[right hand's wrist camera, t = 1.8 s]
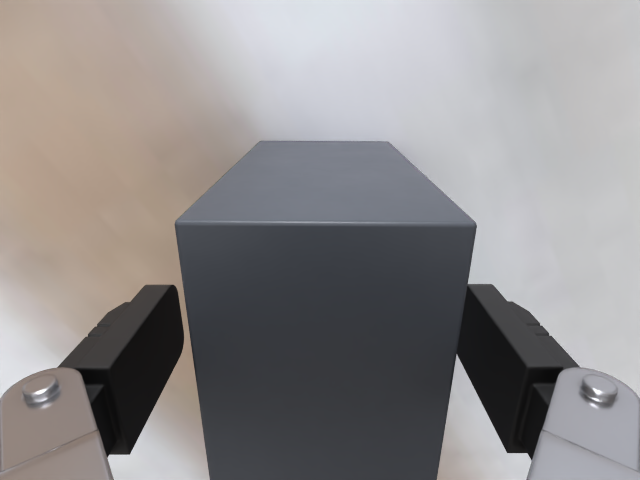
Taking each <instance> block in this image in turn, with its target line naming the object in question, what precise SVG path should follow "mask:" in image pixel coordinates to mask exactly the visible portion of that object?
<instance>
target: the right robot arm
mask: <svg viewBox="0 0 640 480" xmlns="http://www.w3.org/2000/svg"><path fill="white" fill-rule="evenodd" d="M183 344H184V331H183V324H182V317H181V311H180V304H179V297H178V291H177V288H176V287H175V286H174V285H145V286H144V287H143V288H142V289H141V290H140V291H139V293H138V294H137V295H136V296H135V297H134V298H133V300H132V301H131V302H125V303H123V304H122V305H120V306H118V307H117V308H115V309H113V310H112V311H110V312H108V313H107V314H106V315H105V317H104V318H103V319H102V320H101V321H100V322H99V323H98V324H97V327H94V328H93V330H92V331H91V332H90V333H89V334H88V337H85V338H84V339H83V340H82V341H81V342H80V344H79V345H78V346H77V347H76V348H75V349H74V350H73V351H72V352H71V353H70V354H69V355H68V357H67V358H66V359H65V360H64V361H63V362H62V363H61V364H60V365H59V366H58V367H57V368H52V369H47V370H44V371H40V372H37V373H35V374H32V375H30V376H28V377H26V378H24V379H22V380H20V381H19V382H17V383H16V384H14V385H13V386H12V387H10V388H9V389H8V390H7V391H6V392H5V393H4V394H3V395H2V397H1V398H0V480H114V479H113V476H112V473H111V469H110V466H109V463H108V459H107V457H108V456H109V454H130V453H131V451H132V449H133V447H134V445H135V443H136V441H137V439H138V437H139V435H140V433H141V431H142V429H143V427H144V426H145V424H146V422H147V420H148V418H149V416H150V414H151V412H152V410H153V408H154V406H155V404H156V402H157V400H158V398H159V396H160V394H161V392H162V390H163V389H164V387H165V385H166V383H167V381H168V379H169V377H170V375H171V373H172V371H173V369H174V367H175V365H176V363H177V361H178V359H179V357H180V355H181V353H182V349H183ZM457 355H458V357H459V359H460V361H461V363H462V365H463V367H464V369H465V371H466V373H467V375H468V377H469V378H470V380H471V382H472V384H473V386H474V388H475V390H476V392H477V394H478V396H479V398H480V400H481V402H482V404H483V406H484V408H485V410H486V412H487V414H488V416H489V418H490V420H491V422H492V424H493V426H494V428H495V430H496V432H497V434H498V436H499V438H500V440H501V442H502V444H503V446H504V447H505V449H506V451H507V453H528V455H529V457H530V458H531V460H532V463H531V466H530V469H529V473H528V476H527V479H526V480H640V398H639V397H638V395H637V394H636V393H635V392H634V391H633V390H632V389H631V388H630V387H628V386H627V385H626V384H624V383H623V382H621V381H620V380H618V379H616V378H614V377H612V376H610V375H608V374H605V373H603V372H600V371H596V370H593V369H588V368H580V367H579V366H578V364H577V363H576V362H575V361H574V360H573V359H572V358H571V357H570V356H569V355H568V354H567V352H566V351H565V350H564V349H563V348H562V347H561V346H560V345H559V344H558V343H557V342H556V340H555V339H554V338H553V337H552V336H549V333H548V332H547V331H546V330H545V328H544V327H543V326H540V323H539V322H538V321H537V320H536V319H535V318H534V316H533V315H532V314H531V313H530V312H529V311H527V310H525V309H524V308H522V307H520V306H519V305H517V304H515V303H514V302H507V301H506V299H505V298H504V297H503V296H502V295H501V294H500V292H499V291H498V290H497V289H496V288H495V287H494V286H493V285H492V284H467V291H466V297H465V303H464V309H463V316H462V322H461V328H460V335H459V341H458V347H457Z"/></svg>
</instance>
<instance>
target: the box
mask: <svg viewBox="0 0 640 480" xmlns="http://www.w3.org/2000/svg"><path fill="white" fill-rule="evenodd" d="M476 227H477V225H476V222H475V221H473V220H472V219H471V218H470V217H469V216H468V215H467V214H466V213H465V212H464V211H463V210H462V209H460V208H459V207H458V206H457V205H456V204H455V203H454V202H453V201H452V200H451V199H450V198H449V197H448V196H446V195H445V194H444V193H443V192H442V191H441V190H440V189H439V188H438V187H437V186H436V185H435V184H433V183H432V182H431V181H430V180H429V179H428V178H427V177H426V176H425V175H424V174H423V173H422V172H420V171H419V170H418V169H417V168H416V167H415V166H414V165H413V164H412V163H411V162H410V161H409V160H407V159H406V158H405V157H404V156H403V155H402V154H401V153H400V152H399V151H398V150H397V149H396V148H394V147H393V146H392V145H391V144H390V143H389V142H354V141H260V142H259V143H258V144H257V145H256V146H254V147H253V148H252V149H251V150H250V151H249V152H248V153H247V154H246V155H245V156H244V157H243V158H242V159H241V160H240V161H239V162H238V163H236V164H235V165H234V166H233V167H232V168H231V169H230V170H229V171H228V172H227V173H226V174H225V175H224V176H223V177H222V178H221V179H219V180H218V181H217V182H216V183H215V184H214V185H213V186H212V187H211V188H210V189H209V190H208V191H207V192H206V193H205V194H204V195H202V196H201V197H200V198H199V199H198V200H197V201H196V202H195V203H194V204H193V205H192V206H191V207H190V208H189V209H188V210H187V211H185V212H184V213H183V214H182V215H181V216H180V217H179V218H178V219H177V220H176V221H175V230H176V237H177V244H178V252H179V259H180V266H181V273H182V281H183V288H184V295H185V302H186V310H187V317H188V324H189V331H190V338H191V346H192V353H193V360H194V367H195V375H196V382H197V389H198V396H199V404H200V411H201V418H202V425H203V432H204V440H205V447H206V454H207V461H208V469H209V476H210V480H437V474H438V467H439V461H440V455H441V448H442V442H443V436H444V429H445V423H446V417H447V410H448V404H449V398H450V392H451V385H452V379H453V373H454V366H455V360H456V354H457V347H458V341H459V335H460V328H461V322H462V316H463V309H464V303H465V297H466V291H467V284H468V278H469V272H470V265H471V259H472V253H473V246H474V240H475V234H476Z"/></svg>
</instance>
